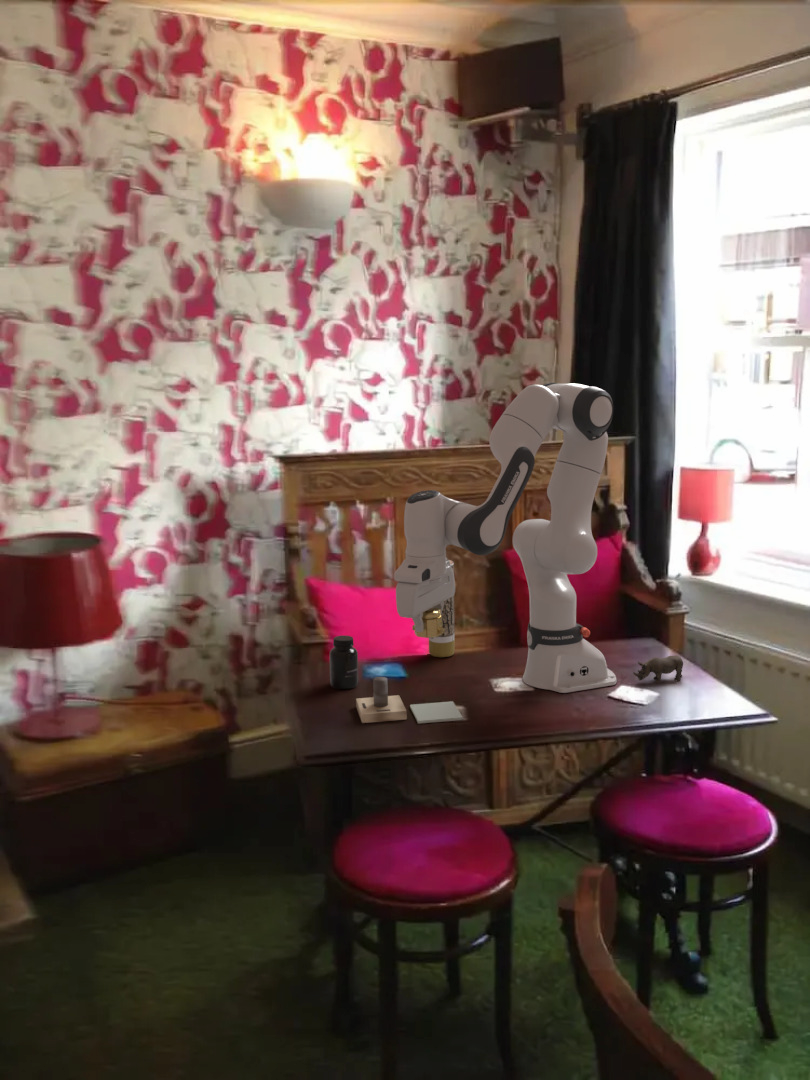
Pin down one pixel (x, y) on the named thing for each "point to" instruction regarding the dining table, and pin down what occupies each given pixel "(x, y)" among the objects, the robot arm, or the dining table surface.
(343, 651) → the supplement bottle
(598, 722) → the dining table surface
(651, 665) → the rhino figurine
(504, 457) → the robot arm
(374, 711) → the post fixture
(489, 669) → the dining table surface
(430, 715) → the coaster
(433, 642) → the paper tube
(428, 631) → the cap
